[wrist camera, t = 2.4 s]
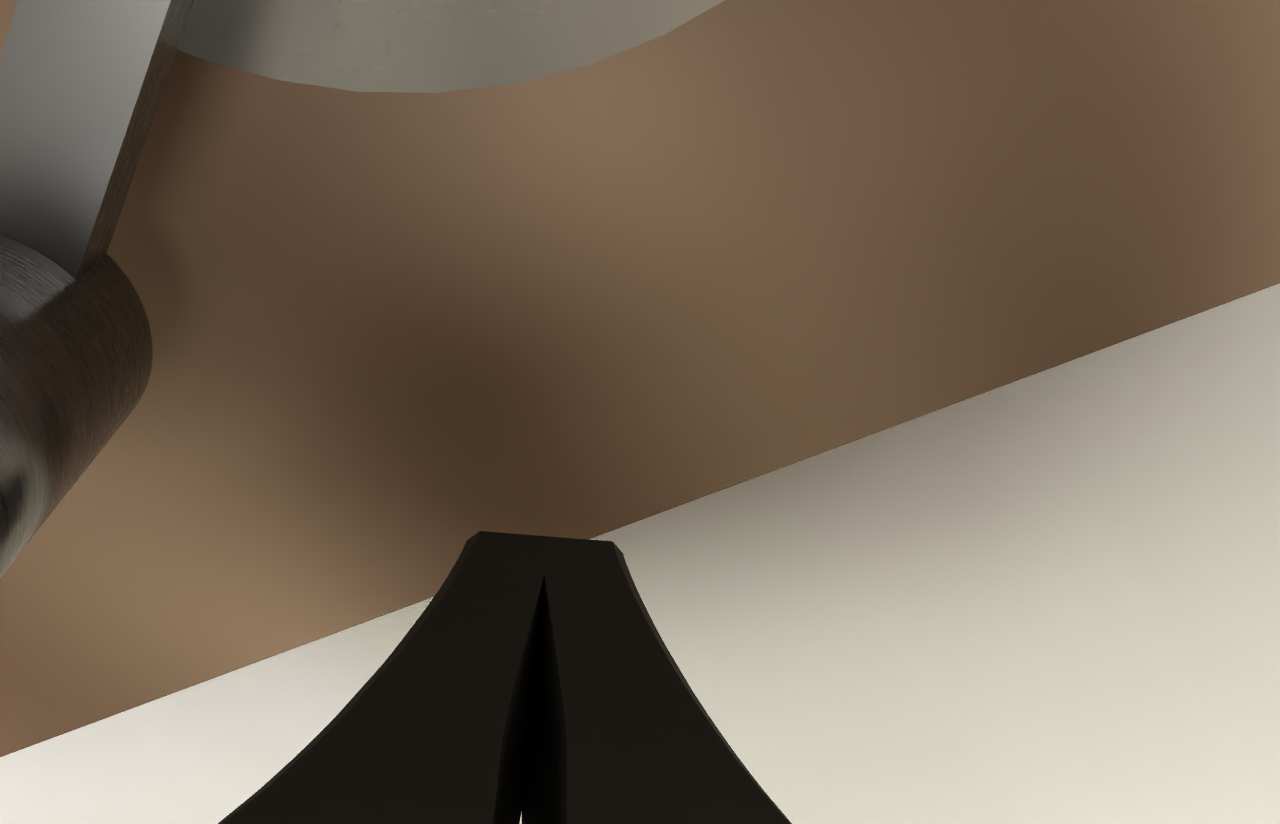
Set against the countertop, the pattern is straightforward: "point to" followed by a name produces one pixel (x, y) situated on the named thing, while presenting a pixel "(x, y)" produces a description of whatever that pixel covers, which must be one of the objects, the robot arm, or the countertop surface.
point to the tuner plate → (611, 297)
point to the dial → (115, 137)
